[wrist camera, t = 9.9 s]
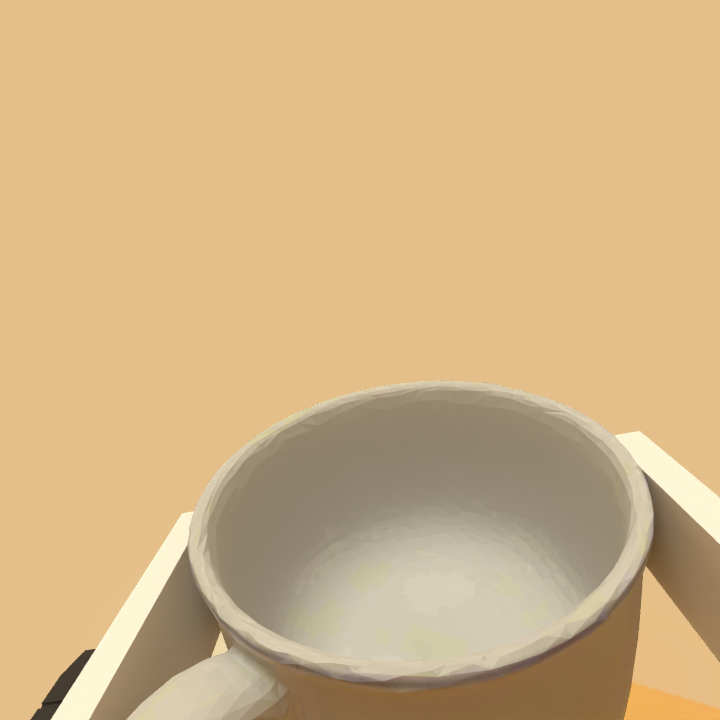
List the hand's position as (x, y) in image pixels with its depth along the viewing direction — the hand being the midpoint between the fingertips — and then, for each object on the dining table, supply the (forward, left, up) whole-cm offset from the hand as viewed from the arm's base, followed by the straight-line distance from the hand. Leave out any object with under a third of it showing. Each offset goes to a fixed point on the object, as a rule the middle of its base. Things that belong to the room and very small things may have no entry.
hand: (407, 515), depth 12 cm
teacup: (+1, +1, -6) cm, 6 cm away
